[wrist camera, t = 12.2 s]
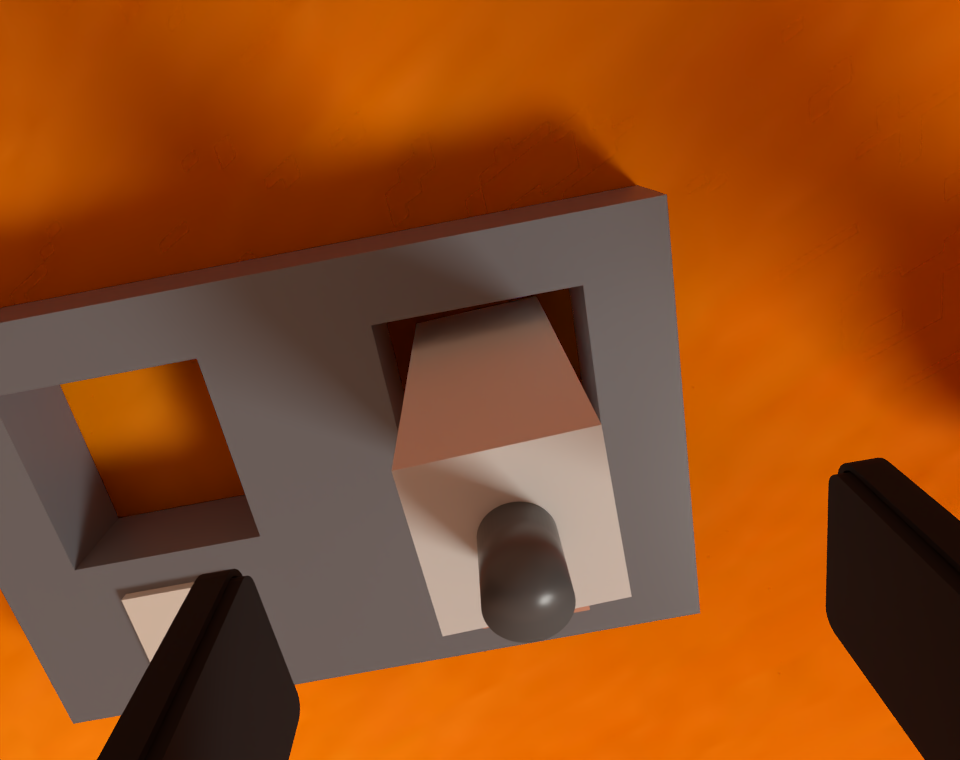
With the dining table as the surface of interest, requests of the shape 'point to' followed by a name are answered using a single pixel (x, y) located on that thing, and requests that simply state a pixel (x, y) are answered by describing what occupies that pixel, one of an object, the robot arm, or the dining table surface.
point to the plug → (505, 476)
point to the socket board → (325, 441)
